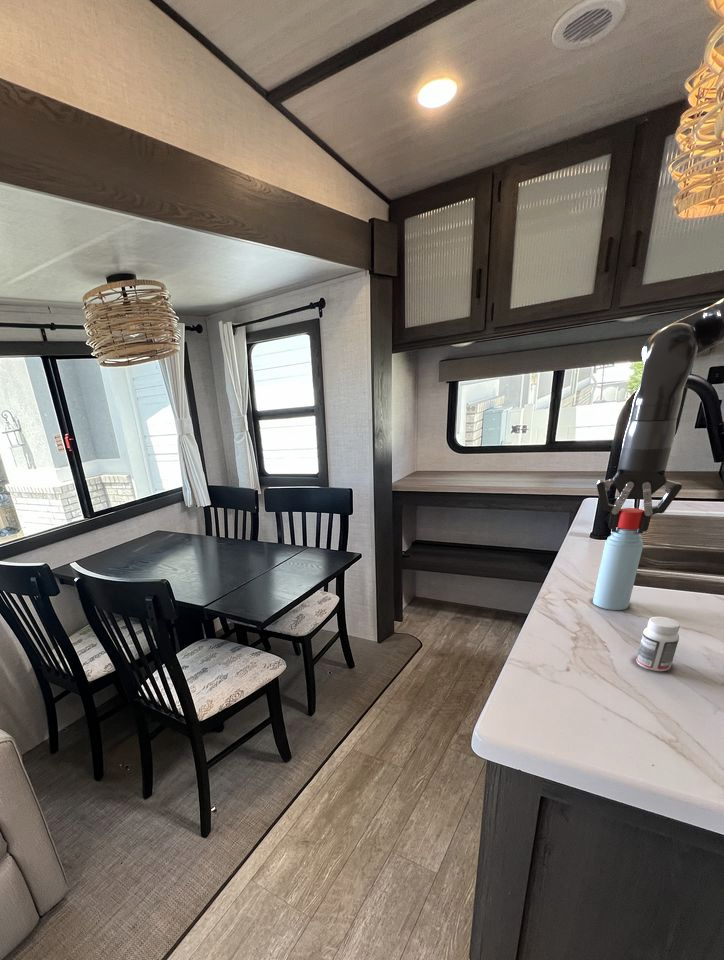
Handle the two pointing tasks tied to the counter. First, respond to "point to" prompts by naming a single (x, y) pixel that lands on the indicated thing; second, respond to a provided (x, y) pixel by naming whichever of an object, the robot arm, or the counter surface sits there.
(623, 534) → the water bottle
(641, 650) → the pill bottle
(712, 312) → the robot arm
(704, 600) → the counter surface
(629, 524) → the cap
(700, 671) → the counter surface
